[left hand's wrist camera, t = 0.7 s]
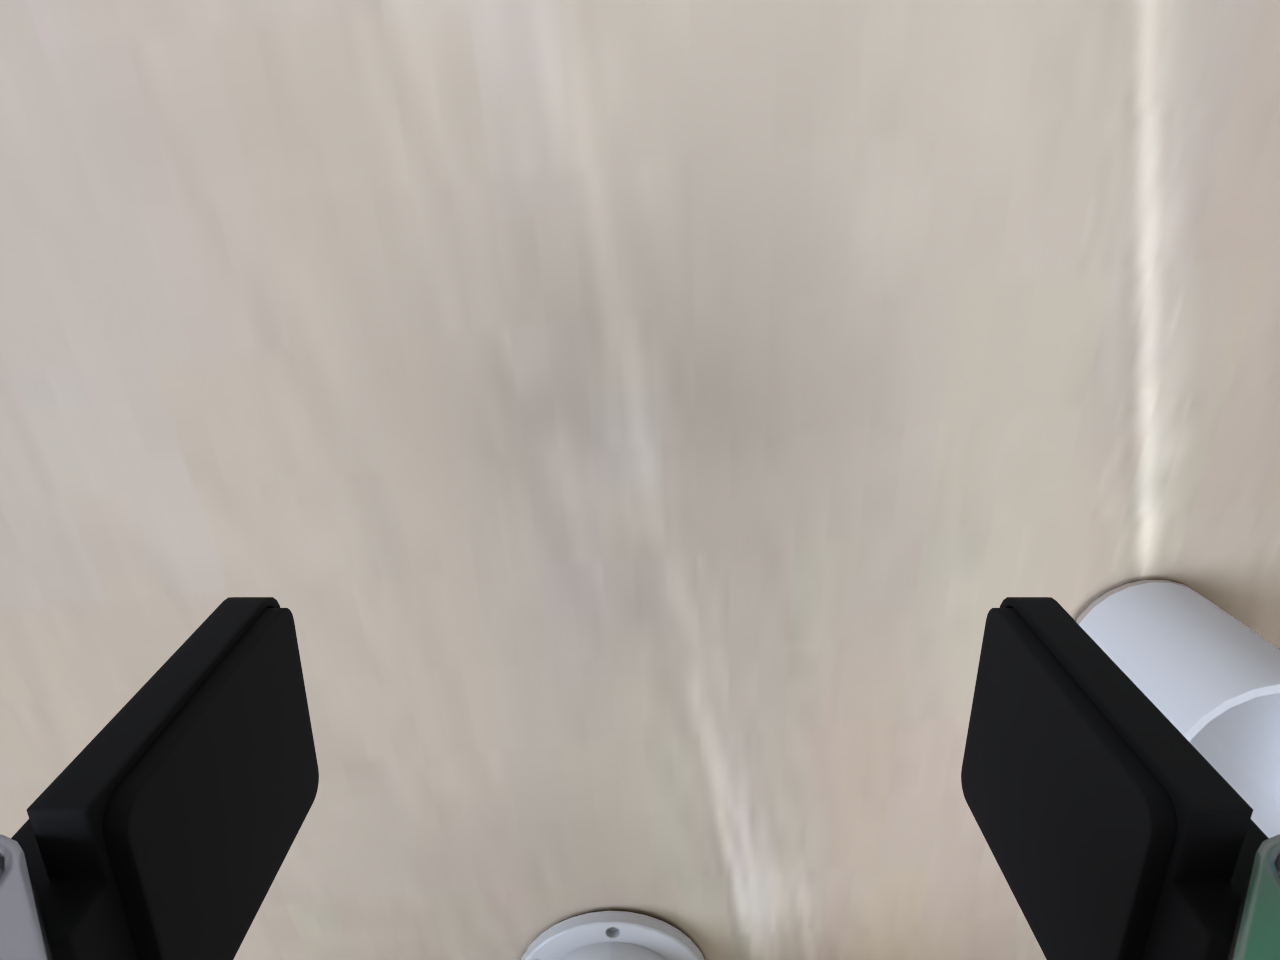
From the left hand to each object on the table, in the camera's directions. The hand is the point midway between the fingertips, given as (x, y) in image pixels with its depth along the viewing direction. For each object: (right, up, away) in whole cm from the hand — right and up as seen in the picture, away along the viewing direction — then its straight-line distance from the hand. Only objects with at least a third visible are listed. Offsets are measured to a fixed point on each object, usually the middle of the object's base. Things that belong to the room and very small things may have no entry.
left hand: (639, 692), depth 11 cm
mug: (+26, -7, +35) cm, 45 cm away
